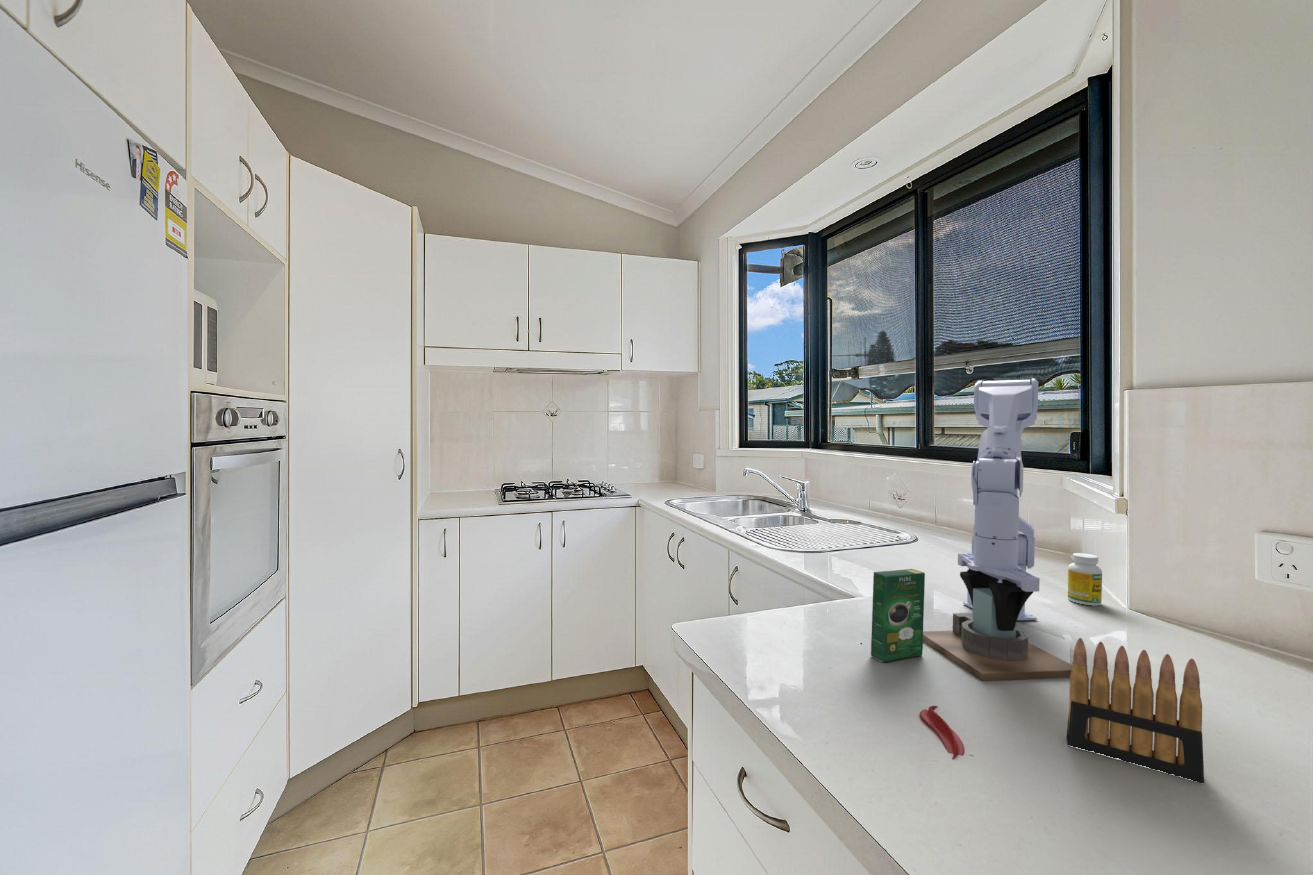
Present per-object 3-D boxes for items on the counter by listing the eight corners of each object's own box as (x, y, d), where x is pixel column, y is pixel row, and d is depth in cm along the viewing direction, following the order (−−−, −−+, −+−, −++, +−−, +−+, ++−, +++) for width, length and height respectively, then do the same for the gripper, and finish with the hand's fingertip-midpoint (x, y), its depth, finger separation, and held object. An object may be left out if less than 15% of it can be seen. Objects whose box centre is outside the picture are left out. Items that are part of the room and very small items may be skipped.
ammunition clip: (1067, 746, 58) (1070, 638, 58) (1066, 738, 60) (1068, 633, 59) (1204, 784, 52) (1208, 664, 52) (1199, 774, 53) (1202, 657, 53)
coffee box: (910, 648, 83) (911, 566, 83) (925, 656, 81) (926, 571, 80) (869, 655, 81) (870, 571, 80) (883, 664, 78) (885, 576, 78)
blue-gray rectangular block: (972, 638, 83) (973, 588, 83) (995, 637, 83) (997, 587, 83) (990, 649, 79) (991, 596, 79) (1015, 648, 79) (1016, 595, 79)
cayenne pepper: (920, 704, 67) (920, 690, 67) (961, 714, 65) (962, 699, 65) (915, 756, 57) (915, 738, 57) (965, 769, 55) (965, 751, 55)
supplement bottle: (1073, 596, 110) (1074, 550, 110) (1105, 603, 106) (1106, 556, 105) (1063, 600, 107) (1064, 554, 107) (1095, 608, 103) (1097, 559, 102)
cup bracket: (918, 637, 88) (918, 613, 88) (1002, 634, 89) (1002, 611, 89) (982, 680, 73) (983, 652, 73) (1081, 676, 74) (1082, 648, 74)
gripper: (941, 527, 87) (939, 608, 88) (1007, 547, 73) (1005, 644, 73) (980, 526, 88) (979, 607, 88) (1054, 546, 74) (1051, 642, 74)
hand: (993, 623), depth 81 cm, fingers open, 4 cm apart
